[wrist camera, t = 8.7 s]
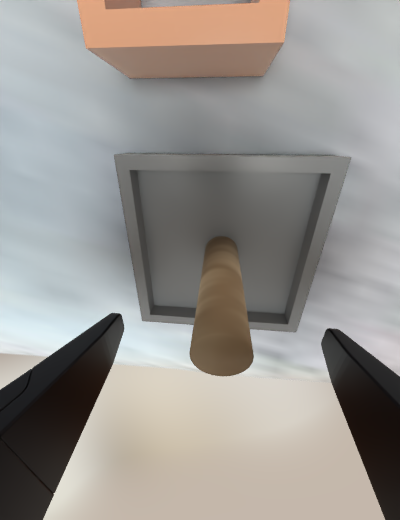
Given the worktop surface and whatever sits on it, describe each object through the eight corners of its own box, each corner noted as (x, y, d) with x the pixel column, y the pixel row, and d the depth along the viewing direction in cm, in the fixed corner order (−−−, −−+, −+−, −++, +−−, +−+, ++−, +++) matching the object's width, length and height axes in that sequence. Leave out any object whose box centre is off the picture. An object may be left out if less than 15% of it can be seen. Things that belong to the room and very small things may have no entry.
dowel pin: (204, 264, 17) (190, 373, 9) (205, 235, 15) (189, 331, 8) (235, 265, 16) (249, 378, 9) (238, 236, 15) (257, 336, 7)
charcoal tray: (149, 305, 20) (142, 320, 19) (127, 153, 14) (113, 154, 12) (289, 315, 19) (296, 332, 18) (334, 155, 13) (351, 157, 11)
